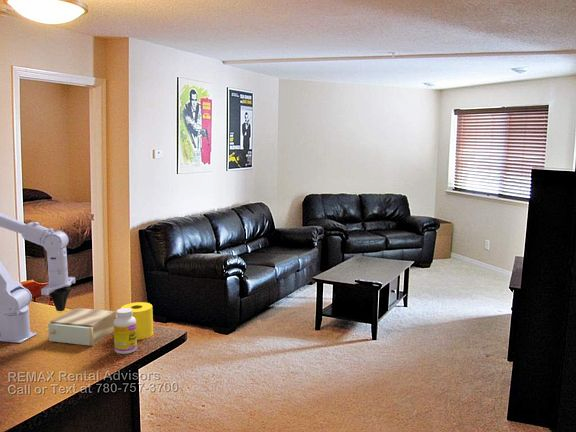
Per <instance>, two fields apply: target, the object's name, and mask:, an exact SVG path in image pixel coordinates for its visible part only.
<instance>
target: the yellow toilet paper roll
mask: <svg viewBox="0 0 576 432" xmlns="http://www.w3.org/2000/svg"><path fill="white" fill-rule="evenodd" d="M121 308H131V309H132V311H133V314H132V316H133V317H134V318H135V319H136V331H137V341H140V340H146V339H149V338H150V337H152V336H153V335H154V318H153V317H154V314H153V311H154V309H153V305H152V304H151V303H150V302H143V301H142V302H140V301H138V302H131V303H127V304H124V305H122V306H121V307H120V309H121Z"/></svg>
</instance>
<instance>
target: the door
mask: <svg viewBox="0 0 576 432" xmlns="http://www.w3.org/2000/svg"><path fill="white" fill-rule="evenodd" d="M47 329H48V330H47V331H48V340H49V342H55V343H56V342H57V343H62V344H66V343H67V344H74V345H82V346H83V345H84V346H90V347H93V346H94V345H95V344H94V339H93V327H83V326H73V325H64V324H54V323H51V322H50V323H47Z"/></svg>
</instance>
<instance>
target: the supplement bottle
mask: <svg viewBox="0 0 576 432" xmlns="http://www.w3.org/2000/svg"><path fill="white" fill-rule="evenodd" d="M132 314H133V311H132V309H131V308H121V307H120V308H118V309H117V310H116V319H115V320H114V332H113V342H114V352H115V353H117V354H120V355H127V354H132V353H134V352H135V351H136V350H137V349H138V340H137V331H136V319H135V318H134V317H133V316H132Z"/></svg>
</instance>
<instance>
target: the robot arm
mask: <svg viewBox="0 0 576 432" xmlns="http://www.w3.org/2000/svg"><path fill="white" fill-rule="evenodd" d="M0 228H3V229H6V230H8V231H12V232H13V233H14V232H15V233H18V234H21V236H22V237H21V238H22V239H24V240H26V241H29V242H31V243H34V244H36V245H39V246H41V247H43V249H44V250H45V251H46V258H47V259H46V260H47V272H48V273H47V274H48V284H46V285H45V286H44V287H42V288H41V289H40V293H41V296H49V297H50V299H51V300H52V303H53V305H54V307H55V308H54V309H55V310H56V311H57V312H63V311H65V310H66V305H67V300H68V297H69V295H70V292H71V285H72V284H75V283H76V277H75V276H74V277H73V276H69V272H68V271H69V268H68V256H67V255H68V254H67V253H68V252H67V246H68V245H69V241H70V240H69V239H70V238H69V236H68V234H67V233H66V232H65V231H63V230H60V229H58V230H54V228H51V227H50V228H47V227H45V226H44V225H40V222H39V221H38V222H37V221H35V222H32V221H31V222H27V223H25V222H22V221H20V220H18V219H16V218H13V217H11V216H9V215H7V214H5V213H3V212H0ZM32 298H33V295H32V293H31V291H30V290H29V289H28V288H26V287H24V286H23V284H22V283H21V282H19V281H17V280H14V279H13V277H12V276H11V274H10V273H9V271H8V270H7V269H6V267H5V266H4V265H3V262H2V261H1V260H0V342H7V343H17V344H21V343H23V342H25V341H26V340H28V339H31V338H32V337H34V336H36V335H37V332H34V331H33V332H32V331H31V324H30V307H29V305H30V303H31V301H32V300H33V299H32Z"/></svg>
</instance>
